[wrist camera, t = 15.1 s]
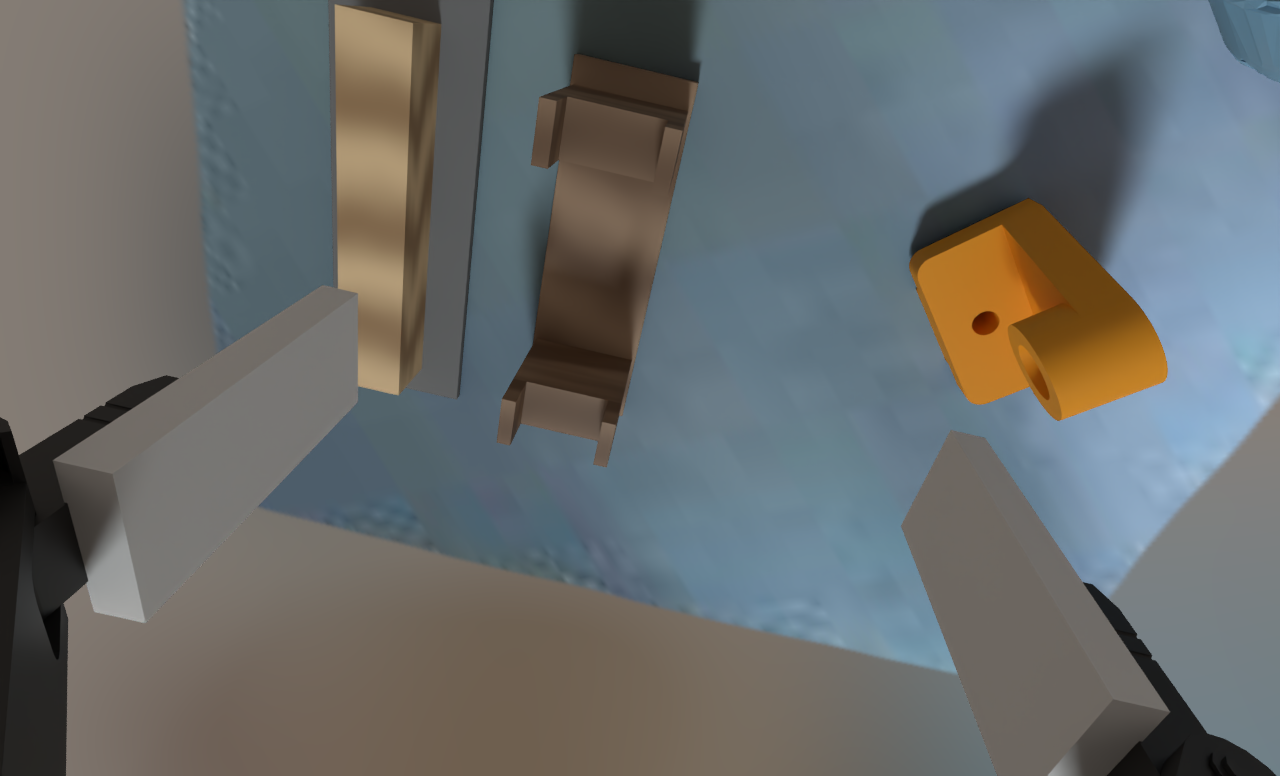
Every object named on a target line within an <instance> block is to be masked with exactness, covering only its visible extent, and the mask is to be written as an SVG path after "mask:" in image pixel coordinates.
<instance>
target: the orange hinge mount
mask: <svg viewBox="0 0 1280 776" xmlns="http://www.w3.org/2000/svg"><path fill="white" fill-rule="evenodd" d="M909 269H910V272H911V274H912V277H913V279H914V282H915V284H916V286H917V288H916V290H917V293H918V295H919V298H920V300H921V302H922V305H923V307H924V310H925V312H926V314H927V317H928V319H929V322H930V324H931V326H932V329H933V331H934V334H935V336H936V338H937V341H938V343H939V346H940V348H941V350H942V353H943V355H944V358H945V360H946V361H947V363H948V364H949V366H950V368H951V371H952V373H953V375H954V378H955V380H956V383H957V385H958V386H959V388H960V389H961V390H962V392H963V393H964V395H965V396H966V398H967V399H968V400H969V401H970V402H972V403H974V404H986V403H989V402H992V401H994V400H997V399H999V398H1002V397H1004V396H1007V395H1010V394H1012V393H1015V392H1017V391H1020V390H1022V389H1025V388H1027V387H1030V388H1031V389H1032V391H1033V393H1034V394H1035V396H1036V397H1037V399H1038V400H1039V402H1040V403H1041V405H1042V406H1043V407H1044V408H1045V410H1046V411H1047V412H1048V413H1049V414H1050V415H1051V416H1052V417H1053V418H1054V419H1055V420H1057V421H1060V420H1063V419H1065V418H1068V417H1071V416H1074V415H1076V414H1079V413H1082V412H1084V411H1087V410H1090V409H1092V408H1095V407H1098V406H1101V405H1103V404H1106V403H1109V402H1111V401H1114V400H1117V399H1119V398H1122V397H1125V396H1128V395H1130V394H1133V393H1136V392H1138V391H1141V390H1144V389H1146V388H1149V387H1152V386H1155V385H1157V384H1160V383H1163V382H1164V381H1165V380H1166V378H1167V373H1168V368H1167V361H1166V357H1165V353H1164V350H1163V347H1162V345H1161V342H1160V340H1159V338H1158V336H1157V333H1156V332H1155V330H1154V328H1153V326H1152V324H1151V322H1150V321H1149V319H1148V318H1147V316H1146V315H1145V313H1144V312H1143V310H1142V309H1141V308H1140V306H1139V305H1138V304H1137V303H1136V302H1135V300H1134V299H1133V298H1132V297H1131V296H1130V295H1129V294H1128V293H1127V292H1126V291H1125V290H1124V289H1123V288H1122V287H1121V286H1120V285H1119V284H1118V283H1117V282H1116V281H1115V280H1114V279H1113V278H1112V277H1111V276H1110V274H1109V273H1108V272H1107V271H1106V270H1105V269H1104V268H1103V267H1102V266H1101V265H1100V264H1099V263H1098V262H1097V261H1096V260H1095V259H1094V258H1093V257H1092V256H1091V255H1090V254H1089V253H1088V252H1087V251H1086V250H1085V249H1084V248H1083V247H1082V246H1081V245H1080V244H1079V243H1078V241H1077V240H1076V239H1075V238H1074V237H1073V236H1072V235H1071V234H1070V233H1069V232H1068V231H1067V230H1066V229H1065V228H1064V227H1063V226H1062V225H1061V224H1060V223H1059V222H1058V221H1057V220H1056V219H1055V218H1054V217H1053V216H1052V215H1051V214H1050V213H1049V212H1048V211H1047V209H1046V208H1045V207H1044V206H1043V205H1041V204H1039V203H1037V202H1035V201H1033V200H1031V199H1029V198H1028V199H1026V200H1024V201H1021V202H1019V203H1017V204H1015V205H1013V206H1011V207H1009V208H1007V209H1005V210H1003V211H1000V212H998V213H996V214H994V215H992V216H990V217H988V218H986V219H984V220H981V221H979V222H977V223H975V224H973V225H971V226H969V227H967V228H965V229H963V230H960V231H958V232H956V233H954V234H952V235H950V236H948V237H946V238H944V239H941V240H939V241H937V242H935V243H933V244H931V245H929V246H927V247H925V248H922V249H920V250H919V251H917V252H916V253H915V254H914V255H913V256H912V258H911V260H910V264H909ZM978 314H979V315H978ZM977 315H978V316H977ZM976 316H977V317H976Z"/></svg>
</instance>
